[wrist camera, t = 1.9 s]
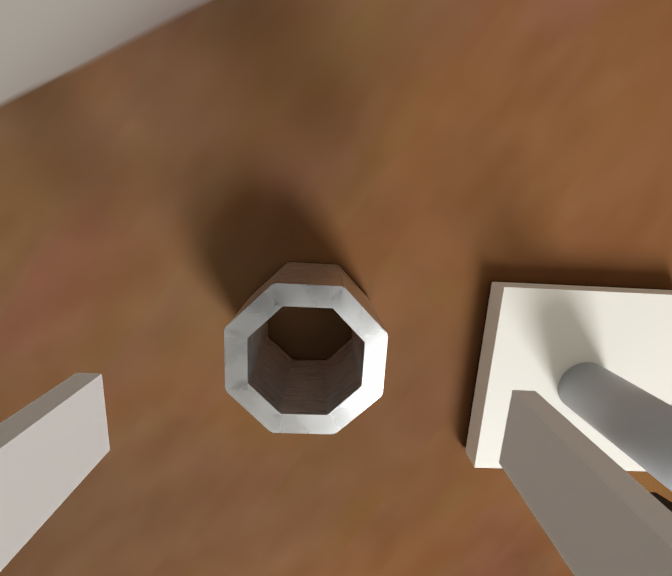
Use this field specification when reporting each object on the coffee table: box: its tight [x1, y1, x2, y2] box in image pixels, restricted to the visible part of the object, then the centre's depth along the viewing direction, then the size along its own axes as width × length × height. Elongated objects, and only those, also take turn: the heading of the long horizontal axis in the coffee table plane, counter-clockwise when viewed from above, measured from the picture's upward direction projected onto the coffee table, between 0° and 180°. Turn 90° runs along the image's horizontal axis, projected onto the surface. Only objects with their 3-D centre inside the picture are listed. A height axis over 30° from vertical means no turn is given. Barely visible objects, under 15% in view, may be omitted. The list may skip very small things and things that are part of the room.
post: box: [465, 282, 672, 491], centre depth 19 cm, size 12×12×8 cm
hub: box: [224, 262, 388, 434], centre depth 19 cm, size 7×7×6 cm
